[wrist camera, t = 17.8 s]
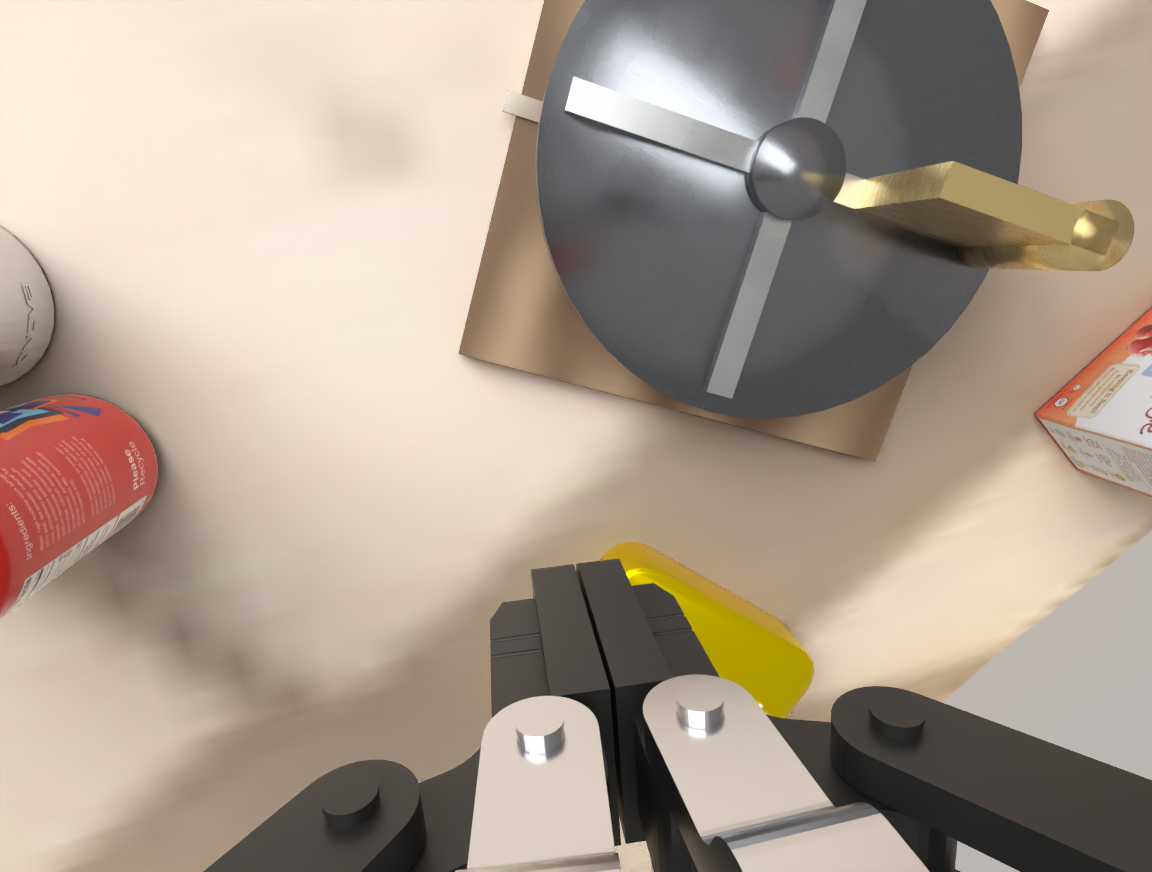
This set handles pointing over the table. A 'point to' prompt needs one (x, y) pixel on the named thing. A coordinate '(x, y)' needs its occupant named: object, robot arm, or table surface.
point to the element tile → (728, 630)
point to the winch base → (550, 323)
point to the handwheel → (790, 190)
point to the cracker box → (1109, 412)
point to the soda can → (65, 486)
